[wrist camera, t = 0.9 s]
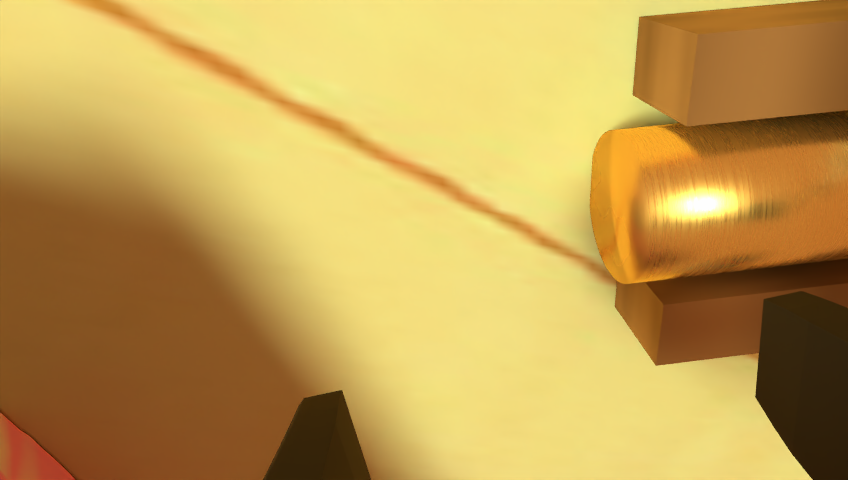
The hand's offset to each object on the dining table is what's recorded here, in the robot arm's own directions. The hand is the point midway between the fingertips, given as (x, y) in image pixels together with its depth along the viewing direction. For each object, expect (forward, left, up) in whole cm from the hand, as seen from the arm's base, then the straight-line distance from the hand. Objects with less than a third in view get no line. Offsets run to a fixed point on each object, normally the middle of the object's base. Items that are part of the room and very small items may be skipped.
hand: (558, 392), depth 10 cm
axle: (-9, 0, -7) cm, 11 cm away
